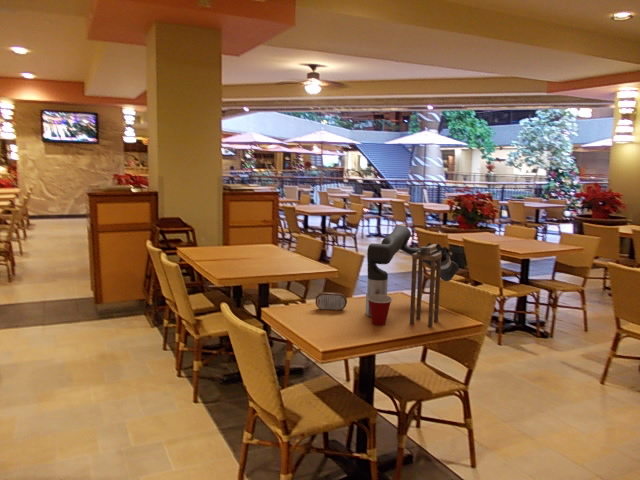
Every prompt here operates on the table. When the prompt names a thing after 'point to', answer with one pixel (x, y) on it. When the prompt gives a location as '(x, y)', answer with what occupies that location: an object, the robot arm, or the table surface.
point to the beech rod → (427, 249)
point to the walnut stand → (431, 257)
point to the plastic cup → (379, 308)
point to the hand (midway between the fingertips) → (433, 245)
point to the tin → (331, 301)
